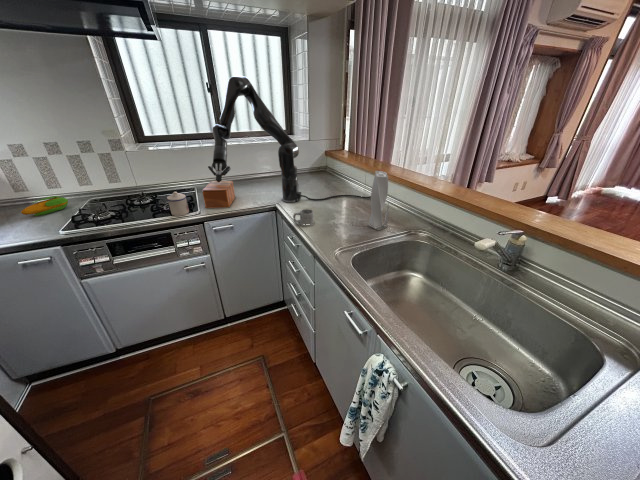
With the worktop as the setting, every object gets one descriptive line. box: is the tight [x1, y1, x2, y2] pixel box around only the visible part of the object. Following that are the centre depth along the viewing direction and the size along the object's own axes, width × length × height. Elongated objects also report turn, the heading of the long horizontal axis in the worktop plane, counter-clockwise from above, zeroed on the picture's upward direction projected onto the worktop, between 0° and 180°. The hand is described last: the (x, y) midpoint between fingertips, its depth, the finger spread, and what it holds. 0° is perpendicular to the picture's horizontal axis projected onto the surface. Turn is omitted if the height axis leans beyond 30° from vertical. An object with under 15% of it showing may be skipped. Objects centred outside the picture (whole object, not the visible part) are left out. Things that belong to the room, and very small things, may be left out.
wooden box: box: [201, 181, 236, 209], centre depth 155 cm, size 17×13×10 cm
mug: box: [292, 208, 315, 228], centre depth 132 cm, size 10×7×7 cm
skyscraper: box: [367, 170, 390, 232], centre depth 125 cm, size 8×8×28 cm
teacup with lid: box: [166, 191, 190, 217], centre depth 141 cm, size 12×9×12 cm
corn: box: [20, 195, 69, 217], centre depth 140 cm, size 7×8×20 cm
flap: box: [206, 180, 234, 186], centre depth 157 cm, size 8×13×1 cm, turn 94°
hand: (218, 181), depth 154 cm, fingers closed
